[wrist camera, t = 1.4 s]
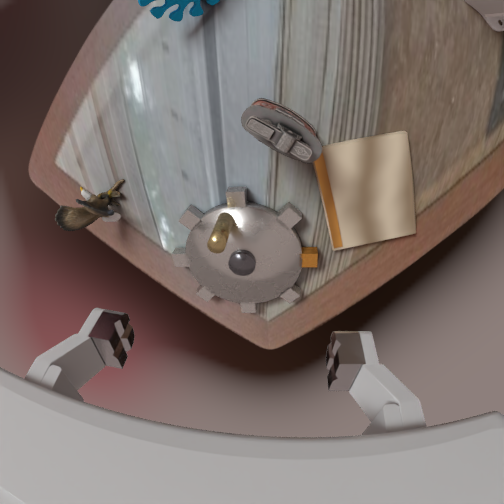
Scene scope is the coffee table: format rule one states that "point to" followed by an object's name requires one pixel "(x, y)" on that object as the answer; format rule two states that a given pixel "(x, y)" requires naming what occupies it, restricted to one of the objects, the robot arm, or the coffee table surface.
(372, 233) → the pad
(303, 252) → the sprocket
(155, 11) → the gear
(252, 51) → the coffee table surface
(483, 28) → the coffee table surface
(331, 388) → the robot arm
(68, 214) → the eagle figurine
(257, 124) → the lighter
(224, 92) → the coffee table surface
